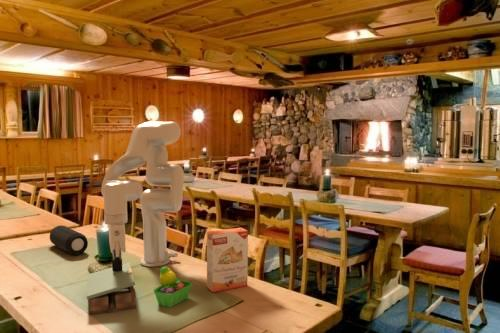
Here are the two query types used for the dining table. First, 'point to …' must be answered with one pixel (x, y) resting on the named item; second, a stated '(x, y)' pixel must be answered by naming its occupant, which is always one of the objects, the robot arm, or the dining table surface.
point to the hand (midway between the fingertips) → (117, 270)
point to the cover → (109, 281)
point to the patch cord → (111, 300)
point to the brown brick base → (121, 301)
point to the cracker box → (227, 259)
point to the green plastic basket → (171, 288)
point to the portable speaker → (68, 240)
